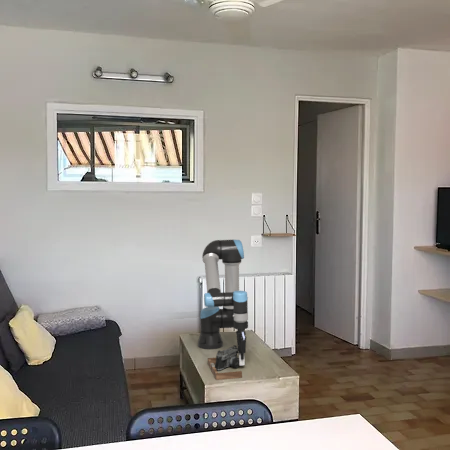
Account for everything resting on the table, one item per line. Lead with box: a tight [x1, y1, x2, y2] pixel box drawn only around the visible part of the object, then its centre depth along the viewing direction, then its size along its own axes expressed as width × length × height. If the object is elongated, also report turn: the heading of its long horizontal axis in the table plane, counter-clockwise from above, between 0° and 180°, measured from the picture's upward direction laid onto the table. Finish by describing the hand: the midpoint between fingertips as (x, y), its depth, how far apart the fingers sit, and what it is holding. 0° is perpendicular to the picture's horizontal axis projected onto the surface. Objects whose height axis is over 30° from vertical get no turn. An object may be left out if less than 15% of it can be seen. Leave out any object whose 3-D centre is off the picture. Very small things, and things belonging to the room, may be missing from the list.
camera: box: [214, 344, 240, 371], centre depth 276 cm, size 18×9×10 cm, turn 145°
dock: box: [207, 357, 243, 381], centre depth 273 cm, size 25×13×4 cm, turn 12°
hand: (241, 364), depth 274 cm, fingers closed
